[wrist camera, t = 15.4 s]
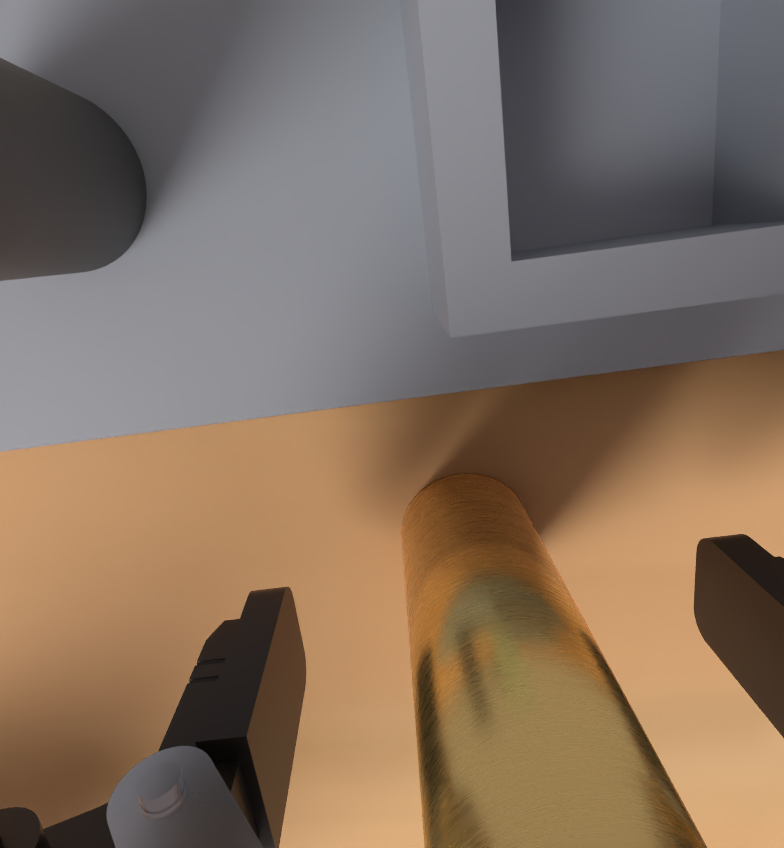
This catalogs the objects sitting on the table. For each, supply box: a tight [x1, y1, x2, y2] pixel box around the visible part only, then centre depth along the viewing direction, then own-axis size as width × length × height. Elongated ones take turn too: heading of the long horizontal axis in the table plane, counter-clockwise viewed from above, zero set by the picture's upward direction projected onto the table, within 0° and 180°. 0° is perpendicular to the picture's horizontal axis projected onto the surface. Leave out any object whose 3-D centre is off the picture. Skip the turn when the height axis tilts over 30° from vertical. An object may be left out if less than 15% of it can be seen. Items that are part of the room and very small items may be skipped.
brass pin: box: [401, 473, 707, 848], centre depth 10 cm, size 3×3×9 cm
